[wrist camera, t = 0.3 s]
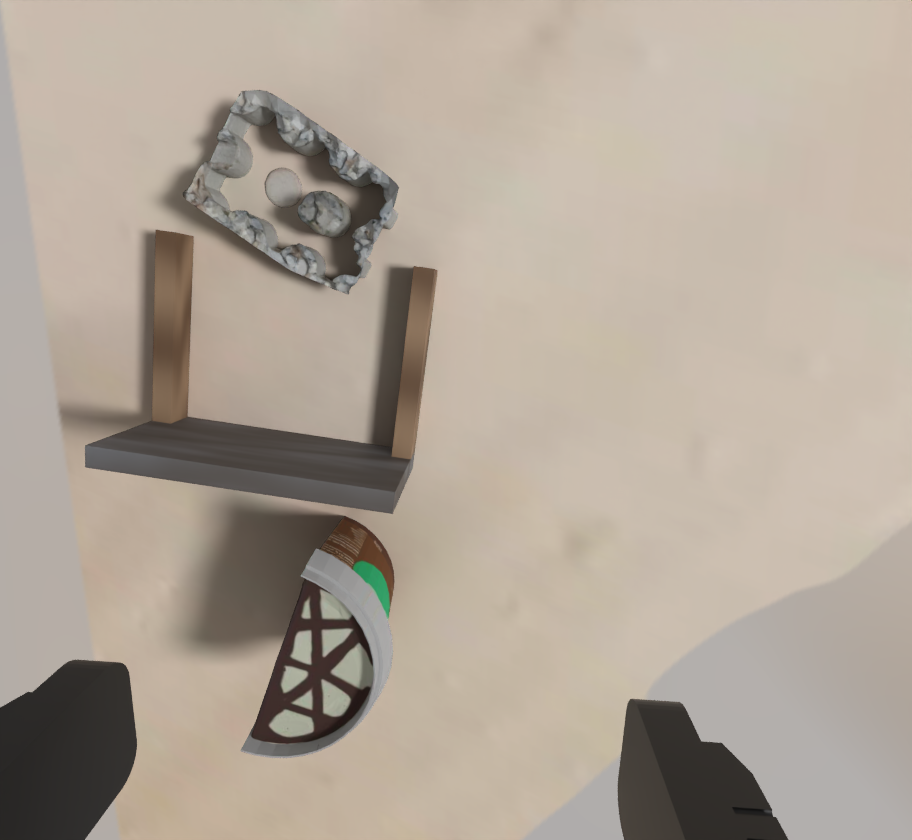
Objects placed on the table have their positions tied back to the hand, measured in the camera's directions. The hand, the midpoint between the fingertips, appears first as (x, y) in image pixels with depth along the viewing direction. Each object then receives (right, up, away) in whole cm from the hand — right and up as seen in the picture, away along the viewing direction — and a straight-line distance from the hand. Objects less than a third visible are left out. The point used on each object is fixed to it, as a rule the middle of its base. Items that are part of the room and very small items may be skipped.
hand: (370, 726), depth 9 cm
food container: (-5, -7, +30) cm, 32 cm away
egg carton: (-7, +18, +25) cm, 32 cm away
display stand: (-9, +9, +27) cm, 30 cm away
